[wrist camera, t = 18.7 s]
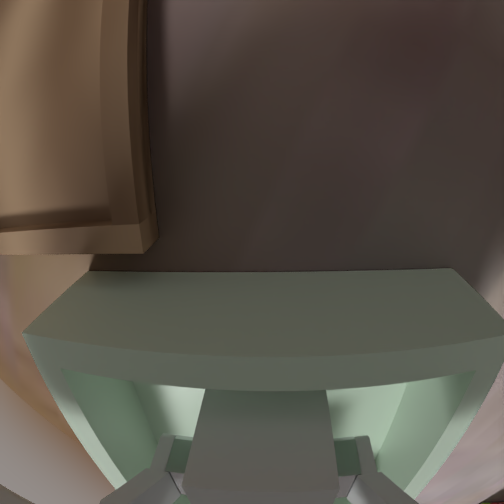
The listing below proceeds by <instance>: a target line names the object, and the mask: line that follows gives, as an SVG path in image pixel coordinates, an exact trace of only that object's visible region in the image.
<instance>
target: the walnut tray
mask: <svg viewBox="0 0 504 504" xmlns="http://www.w3.org/2000/svg"><path fill="white" fill-rule="evenodd" d="M146 28H147V0H0V255H38V254H144V253H145V252H146V251H147V249H148V248H149V247H150V246H151V245H152V244H153V243H154V242H155V241H156V240H157V239H158V238H159V232H158V224H157V216H156V207H155V198H154V188H153V178H152V167H151V155H150V141H149V126H148V106H147V74H146Z"/></svg>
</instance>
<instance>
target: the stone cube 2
mask: <svg viewBox="0 0 504 504" xmlns="http://www.w3.org/2000/svg"><path fill="white" fill-rule="evenodd" d="M181 486H182V488H183V490H184V492H185V493H186V495H187V497H188V499H189V501H190V503H191V504H333V503H334V501H335V498H336V496H337V494H338V492H339V489H340V487H339V479H338V470H337V462H336V455H335V447H334V440H333V433H332V426H331V419H330V412H329V406H328V399H327V393H326V390H313V391H236V390H215V389H205V392H204V396H203V400H202V404H201V408H200V412H199V416H198V420H197V424H196V428H195V432H194V436H193V440H192V444H191V448H190V452H189V456H188V460H187V465H186V469H185V473H184V477H183V481H182V485H181Z"/></svg>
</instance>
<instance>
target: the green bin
mask: <svg viewBox="0 0 504 504" xmlns="http://www.w3.org/2000/svg"><path fill="white" fill-rule="evenodd" d="M22 334H23V337H24V339H25V341H26V344H27V346H28V348H29V350H30V353H31V355H32V357H33V359H34V361H35V363H36V365H37V367H38V369H39V371H40V374H41V375H42V377H43V379H44V381H45V383H46V385H47V387H48V389H49V391H50V393H51V394H52V396H53V398H54V400H55V402H56V403H57V405H58V407H59V409H60V410H61V412H62V414H63V415H64V417H65V419H66V420H67V422H68V423H69V425H70V427H71V428H72V430H73V431H74V433H75V434H76V436H77V438H78V439H79V441H80V442H81V443H82V445H83V446H84V448H85V449H86V451H87V452H88V453H89V455H90V456H91V458H92V459H93V461H94V462H95V463H96V465H97V466H98V467H99V469H100V470H101V471H102V472H103V474H104V475H105V476H106V478H107V479H108V480H109V482H110V483H111V484H112V485H113V486H114V488H115V489H118V488H119V487H121V486H122V485H123V484H125V483H126V482H128V481H129V480H130V479H132V478H133V477H135V476H136V475H137V474H139V473H140V472H141V471H143V470H144V469H145V468H148V469H150V466H151V463H152V460H153V457H154V454H155V451H156V448H157V445H158V442H159V439H160V437H161V435H162V434H163V433H166V434H174V435H180V436H188V437H193V436H194V432H195V428H196V424H197V420H198V416H199V412H200V408H201V404H202V400H203V396H204V392H205V389H215V390H236V391H313V390H326V393H327V399H328V406H329V412H330V419H331V426H332V433H333V438H343V437H352V436H353V437H355V436H363V435H368V436H369V438H370V442H371V446H372V450H373V455H374V459H375V464H376V468H377V472H382V473H383V474H384V475H386V476H387V477H388V478H389V479H390V480H391V481H392V482H394V483H395V484H396V485H397V486H398V487H399V488H401V489H402V490H403V491H404V492H405V493H407V494H408V495H409V496H410V497H411V498H413V499H415V498H416V497H417V496H418V495H419V493H420V492H421V491H422V490H423V489H424V487H425V486H426V485H427V484H428V483H429V481H430V480H431V479H432V478H433V476H434V475H435V474H436V472H437V471H438V470H439V469H440V467H441V466H442V465H443V463H444V462H445V461H446V459H447V458H448V456H449V455H450V454H451V452H452V451H453V449H454V448H455V446H456V445H457V444H458V442H459V441H460V439H461V438H462V436H463V435H464V433H465V431H466V430H467V428H468V427H469V425H470V423H471V422H472V420H473V419H474V417H475V415H476V414H477V412H478V410H479V408H480V407H481V405H482V403H483V401H484V400H485V398H486V396H487V394H488V392H489V390H490V388H491V387H492V385H493V383H494V381H495V379H496V377H497V375H498V373H499V371H500V368H501V366H502V364H503V362H504V319H503V318H502V317H501V316H500V315H499V314H498V313H497V312H496V311H495V310H494V309H493V308H492V307H491V305H490V304H489V303H488V302H487V301H486V300H485V299H484V298H483V297H482V296H481V295H480V294H479V293H478V292H477V291H476V290H475V289H474V288H473V287H472V286H470V285H469V284H468V283H467V282H466V281H465V280H464V279H463V278H462V277H461V276H460V275H459V274H458V273H457V272H456V271H455V270H454V269H453V268H440V269H409V270H370V271H316V272H119V271H88V272H86V273H85V274H84V275H83V276H82V277H81V278H80V279H78V280H77V281H76V282H75V283H74V284H73V285H72V286H71V287H69V288H68V289H67V290H66V291H65V292H64V293H63V294H62V295H61V296H60V297H58V298H57V299H56V300H55V301H54V302H53V303H52V304H51V305H50V306H49V307H48V308H47V309H46V310H45V311H44V312H42V313H41V314H40V315H39V316H38V317H37V318H36V319H35V320H34V321H33V322H32V323H31V324H30V325H29V326H28V327H27V328H26V329H25V330H24V331H23V332H22ZM180 495H181V496H180V497H179V498H178V499H177V500H176V501H175V502H174V503H173V504H191V503H190V501H189V499H188V497H187V495H183V494H180ZM333 504H351V503H350V502H349V500H348V499H347V497H342V498H335V501H334V503H333Z"/></svg>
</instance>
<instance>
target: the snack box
mask: <svg viewBox="0 0 504 504" xmlns="http://www.w3.org/2000/svg"><path fill="white" fill-rule="evenodd" d="M480 504H504V502H492V503H480Z"/></svg>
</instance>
